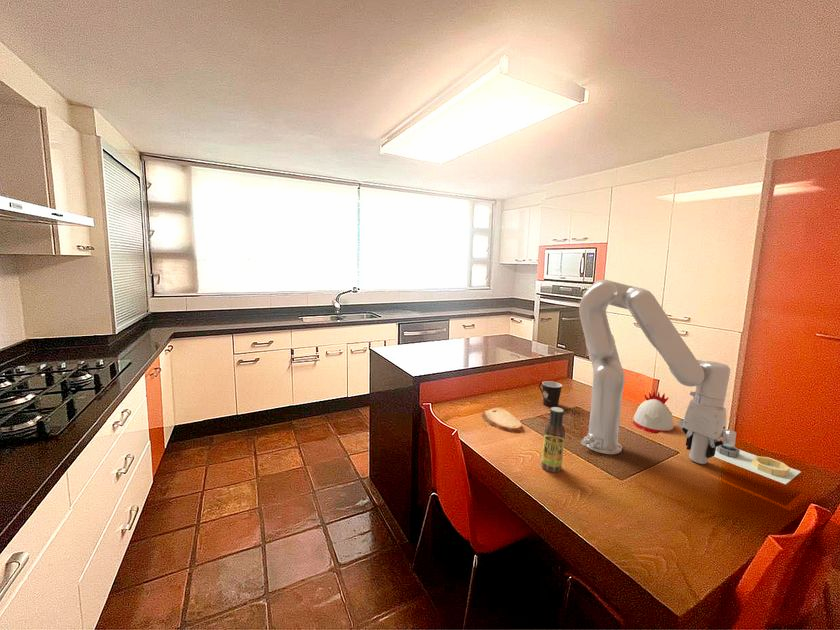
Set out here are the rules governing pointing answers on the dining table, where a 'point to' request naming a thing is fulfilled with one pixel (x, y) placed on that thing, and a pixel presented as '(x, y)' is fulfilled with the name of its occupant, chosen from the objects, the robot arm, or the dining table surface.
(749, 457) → the socket board
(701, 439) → the beverage can
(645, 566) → the dining table surface
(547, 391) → the coffee mug
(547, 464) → the sauce bottle
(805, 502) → the dining table surface
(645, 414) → the white and red dome
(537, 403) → the dining table surface
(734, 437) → the grey peg
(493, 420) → the bread slice
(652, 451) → the dining table surface
